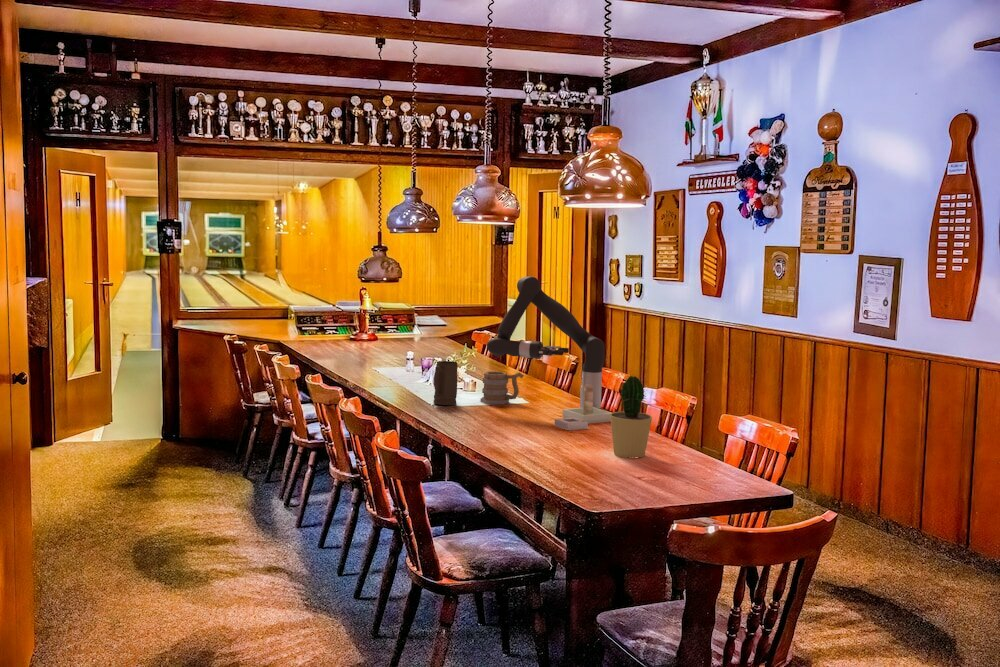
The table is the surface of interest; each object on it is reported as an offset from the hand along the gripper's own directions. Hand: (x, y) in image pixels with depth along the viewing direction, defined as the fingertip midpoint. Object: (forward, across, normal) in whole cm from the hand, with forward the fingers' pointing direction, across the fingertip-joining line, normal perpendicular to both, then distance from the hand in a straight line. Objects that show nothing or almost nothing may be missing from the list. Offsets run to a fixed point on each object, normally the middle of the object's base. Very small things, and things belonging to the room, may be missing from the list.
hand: (565, 351), depth 410 cm
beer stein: (-58, -1, +28) cm, 65 cm away
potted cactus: (+42, -58, +29) cm, 77 cm away
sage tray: (+11, 0, +29) cm, 31 cm away
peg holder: (+9, -21, +29) cm, 37 cm away
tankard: (-36, +18, +29) cm, 50 cm away
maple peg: (+11, 0, +28) cm, 30 cm away
